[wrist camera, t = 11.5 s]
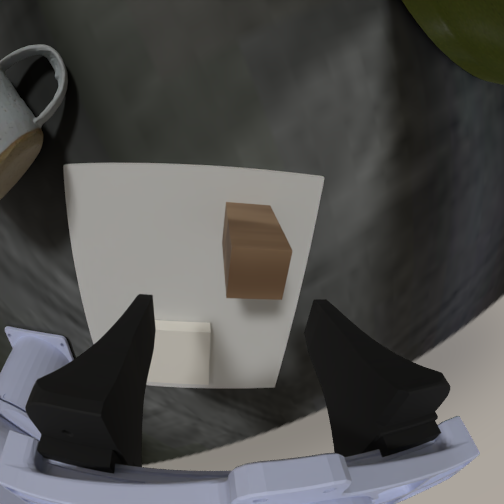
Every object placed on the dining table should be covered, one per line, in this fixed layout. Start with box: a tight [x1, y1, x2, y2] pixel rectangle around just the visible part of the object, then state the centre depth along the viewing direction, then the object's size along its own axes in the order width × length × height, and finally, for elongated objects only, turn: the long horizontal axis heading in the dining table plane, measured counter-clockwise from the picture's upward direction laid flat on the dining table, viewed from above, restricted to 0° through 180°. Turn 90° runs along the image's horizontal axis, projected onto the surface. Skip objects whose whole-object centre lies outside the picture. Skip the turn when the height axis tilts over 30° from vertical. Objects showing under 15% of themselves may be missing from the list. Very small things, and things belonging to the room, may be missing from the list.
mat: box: [63, 163, 324, 388], centre depth 24 cm, size 22×18×1 cm
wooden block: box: [222, 202, 293, 300], centre depth 19 cm, size 3×3×6 cm
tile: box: [147, 320, 211, 385], centre depth 26 cm, size 1×6×7 cm
